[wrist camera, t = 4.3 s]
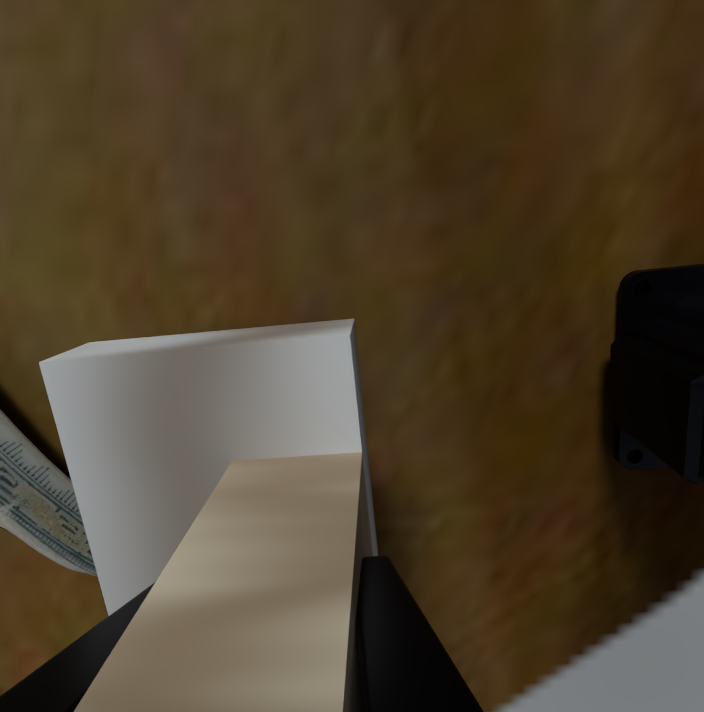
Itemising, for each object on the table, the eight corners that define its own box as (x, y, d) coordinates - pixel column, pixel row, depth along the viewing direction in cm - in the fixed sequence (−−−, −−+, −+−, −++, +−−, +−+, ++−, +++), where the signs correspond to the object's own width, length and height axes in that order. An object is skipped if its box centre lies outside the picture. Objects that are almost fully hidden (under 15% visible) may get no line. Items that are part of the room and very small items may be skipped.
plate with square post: (354, 319, 10) (229, 772, 2) (382, 599, 12) (392, 1507, 3) (89, 342, 10) (-1053, 790, 2) (154, 609, 12) (-328, 1429, 4)
